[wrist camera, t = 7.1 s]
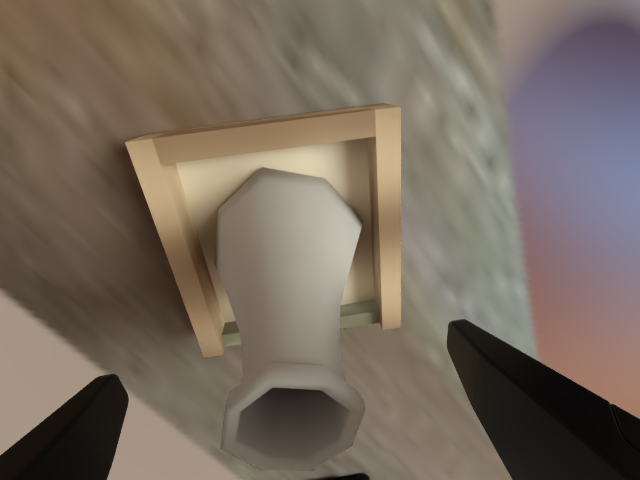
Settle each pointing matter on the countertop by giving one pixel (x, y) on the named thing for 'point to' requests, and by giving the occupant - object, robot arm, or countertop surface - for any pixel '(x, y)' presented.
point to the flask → (288, 319)
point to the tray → (286, 155)
